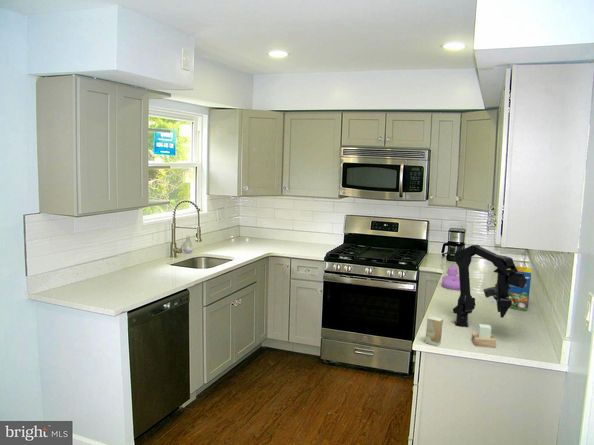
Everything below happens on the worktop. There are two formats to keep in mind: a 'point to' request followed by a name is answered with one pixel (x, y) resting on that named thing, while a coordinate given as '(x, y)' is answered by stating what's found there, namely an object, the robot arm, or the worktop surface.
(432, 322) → the skincare box
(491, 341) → the oak block
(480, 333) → the sage block
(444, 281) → the purple rounded figure
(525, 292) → the blue food package
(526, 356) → the worktop surface
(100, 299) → the worktop surface
